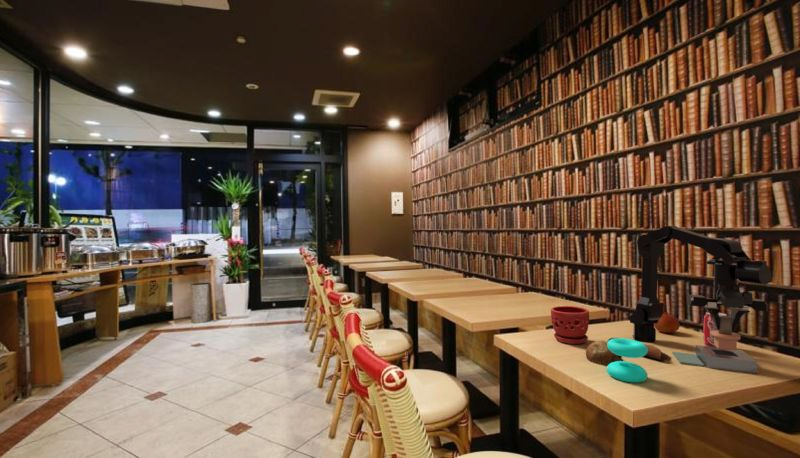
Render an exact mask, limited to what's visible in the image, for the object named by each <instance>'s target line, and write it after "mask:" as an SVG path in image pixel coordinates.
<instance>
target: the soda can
mask: <svg viewBox="0 0 800 458" xmlns="http://www.w3.org/2000/svg"><path fill="white" fill-rule="evenodd" d="M727 315H728V314H726V313H723V312H719V316H724V317H728V316H727ZM710 331H719V330H717V328H716V326H715V324H714V321H713V319H712V317H711V315H710V313H709V311H707V312H705V315H704V317H703V333H702V334H703V344H704V346H709V347H716V346H715V345H714V337H713V336H711V335H710Z"/></svg>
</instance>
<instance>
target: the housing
mask: <svg viewBox="0 0 800 458" xmlns="http://www.w3.org/2000/svg"><path fill="white" fill-rule="evenodd" d="M695 355H696V356H697V358H698V359H699V360H700V361H701V362H702V363H703V364H704V367H705V368H706V369H707V368H708V369H717V370H723V371H724V370H725V371H733V372H738V373H739V372H741V373H749V374H758V361H757V360H755V358H753V357H751V356H750V355H749V354H748V353H746V352H745V350H742V349H737V351H734V350H725V349H718V348H717V347H709V346H706V345H700V344H695Z"/></svg>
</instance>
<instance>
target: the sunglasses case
mask: <svg viewBox="0 0 800 458" xmlns="http://www.w3.org/2000/svg"><path fill="white" fill-rule="evenodd" d="M615 338H616V337H610V338H609V339H608V340H607V342H608V341H609V340H611V339H615ZM644 344H645V343H644ZM645 345H646V346H647V349H648V352H647V354H646V355H645V356H644V357H649V358H651V359H655V360H658V361H661V362H662V363H663V362H666V361H669V360H671V359H672V356H670V355H669V354H667V353H665V352H663V351H662V350H661V348H659V347H656V346H654V345H652V344H645Z"/></svg>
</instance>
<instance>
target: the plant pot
mask: <svg viewBox="0 0 800 458" xmlns="http://www.w3.org/2000/svg"><path fill="white" fill-rule="evenodd" d="M550 318H551V324H552V327H553V330H554V333H553V337H554V338H555V339H556V340H557V341H559V342H561V343H564V344H569V345H579V344H580V345H581V344H584V343H586V342H587V341H588V340H589V337H588V336H587V333H588V330H589V322H590V311H589V309H588V308H584V307H581V306H573V305H571V306H570V305H563V306H554V307H551V309H550Z"/></svg>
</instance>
